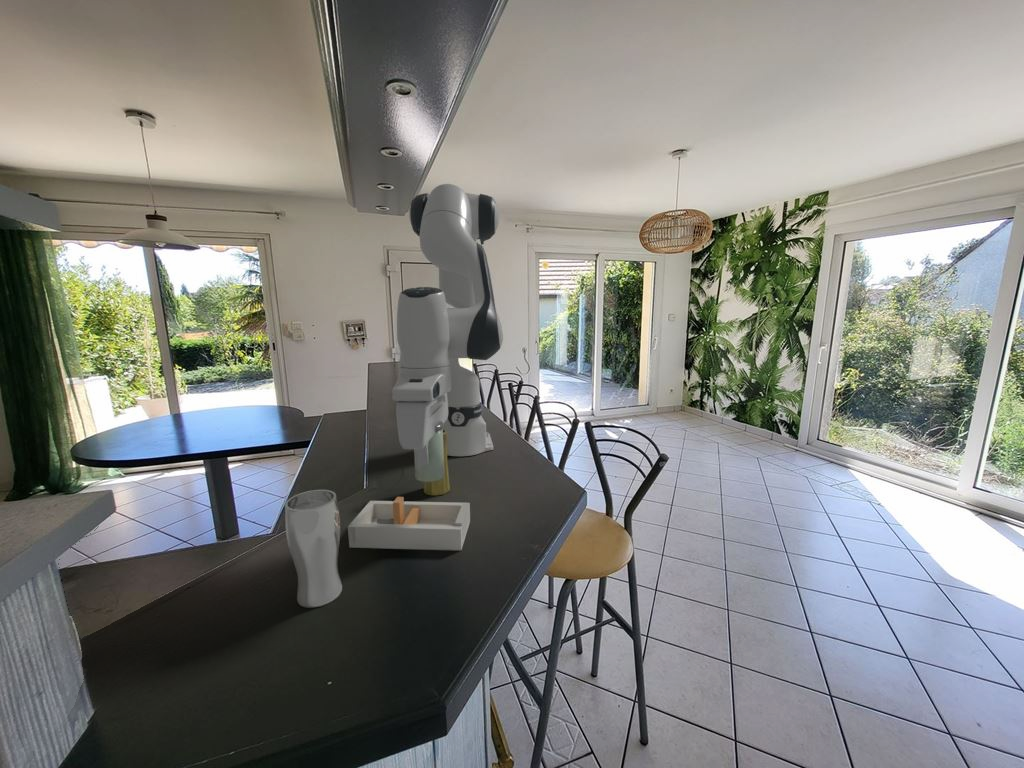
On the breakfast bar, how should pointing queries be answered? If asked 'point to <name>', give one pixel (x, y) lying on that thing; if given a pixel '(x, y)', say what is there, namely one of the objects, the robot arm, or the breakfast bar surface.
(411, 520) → the pusher
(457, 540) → the white tray
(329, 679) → the breakfast bar surface
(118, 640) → the breakfast bar surface
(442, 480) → the vase
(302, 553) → the beer glass
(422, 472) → the jar
